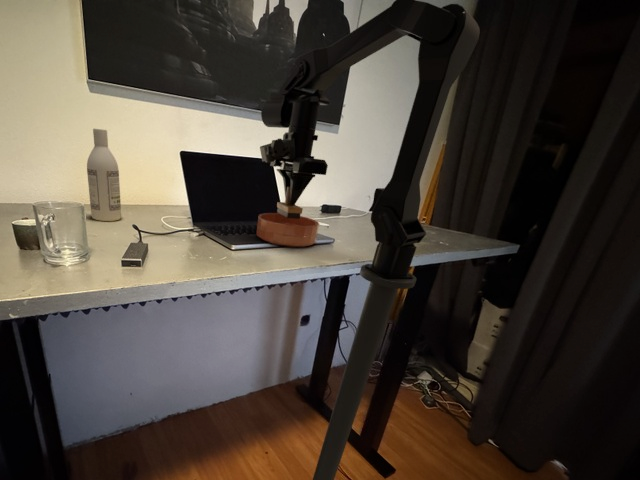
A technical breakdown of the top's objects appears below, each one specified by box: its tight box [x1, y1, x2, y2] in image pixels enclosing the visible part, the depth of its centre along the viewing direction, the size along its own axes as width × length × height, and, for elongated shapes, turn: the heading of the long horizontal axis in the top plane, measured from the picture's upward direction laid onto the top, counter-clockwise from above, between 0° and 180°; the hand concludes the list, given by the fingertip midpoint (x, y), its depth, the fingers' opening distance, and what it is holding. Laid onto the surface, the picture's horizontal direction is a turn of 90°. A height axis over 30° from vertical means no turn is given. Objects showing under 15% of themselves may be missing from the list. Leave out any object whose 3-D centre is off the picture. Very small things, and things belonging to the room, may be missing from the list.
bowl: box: [255, 212, 320, 248], centre depth 79 cm, size 15×15×5 cm
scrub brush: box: [276, 187, 304, 219], centre depth 76 cm, size 7×4×6 cm, turn 14°
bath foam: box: [86, 128, 122, 222], centre depth 77 cm, size 7×7×20 cm
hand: (290, 203), depth 76 cm, fingers closed on scrub brush, 2 cm apart
